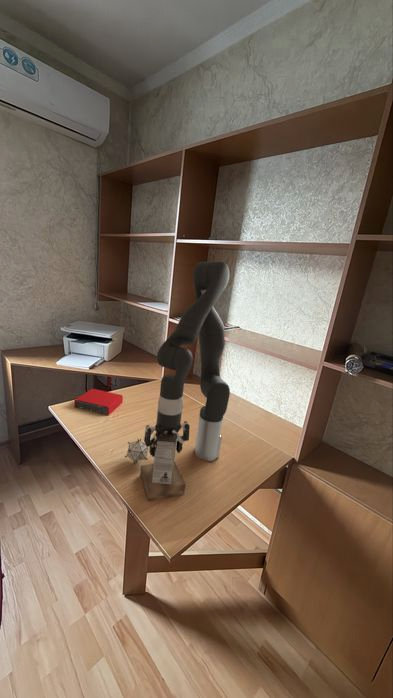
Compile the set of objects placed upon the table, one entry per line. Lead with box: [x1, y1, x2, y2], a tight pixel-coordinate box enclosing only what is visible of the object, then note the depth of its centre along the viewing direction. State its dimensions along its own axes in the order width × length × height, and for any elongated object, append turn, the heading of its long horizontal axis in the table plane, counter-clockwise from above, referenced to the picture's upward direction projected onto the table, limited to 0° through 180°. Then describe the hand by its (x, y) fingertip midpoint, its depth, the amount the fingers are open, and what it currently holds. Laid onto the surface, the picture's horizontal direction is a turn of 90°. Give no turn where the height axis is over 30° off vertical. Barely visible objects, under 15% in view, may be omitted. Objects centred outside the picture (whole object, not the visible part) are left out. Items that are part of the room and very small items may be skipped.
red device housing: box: [74, 388, 124, 416], centre depth 144 cm, size 18×14×5 cm
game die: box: [124, 438, 149, 464], centre depth 105 cm, size 9×8×10 cm
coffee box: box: [152, 434, 177, 484], centre depth 94 cm, size 9×6×16 cm
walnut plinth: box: [139, 460, 186, 502], centre depth 97 cm, size 12×12×4 cm
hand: (165, 453), depth 94 cm, fingers open, 8 cm apart
